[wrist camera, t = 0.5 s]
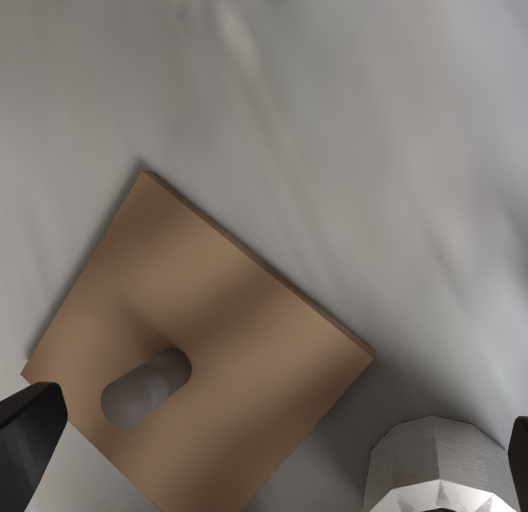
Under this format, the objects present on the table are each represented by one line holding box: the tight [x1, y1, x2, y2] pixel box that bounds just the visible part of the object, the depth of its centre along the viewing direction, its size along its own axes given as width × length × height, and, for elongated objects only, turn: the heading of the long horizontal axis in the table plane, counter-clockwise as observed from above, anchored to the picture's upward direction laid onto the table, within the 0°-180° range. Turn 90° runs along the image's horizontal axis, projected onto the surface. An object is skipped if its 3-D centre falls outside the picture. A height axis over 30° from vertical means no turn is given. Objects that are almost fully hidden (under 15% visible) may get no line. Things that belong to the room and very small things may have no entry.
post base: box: [21, 171, 375, 512], centre depth 21 cm, size 14×14×6 cm
